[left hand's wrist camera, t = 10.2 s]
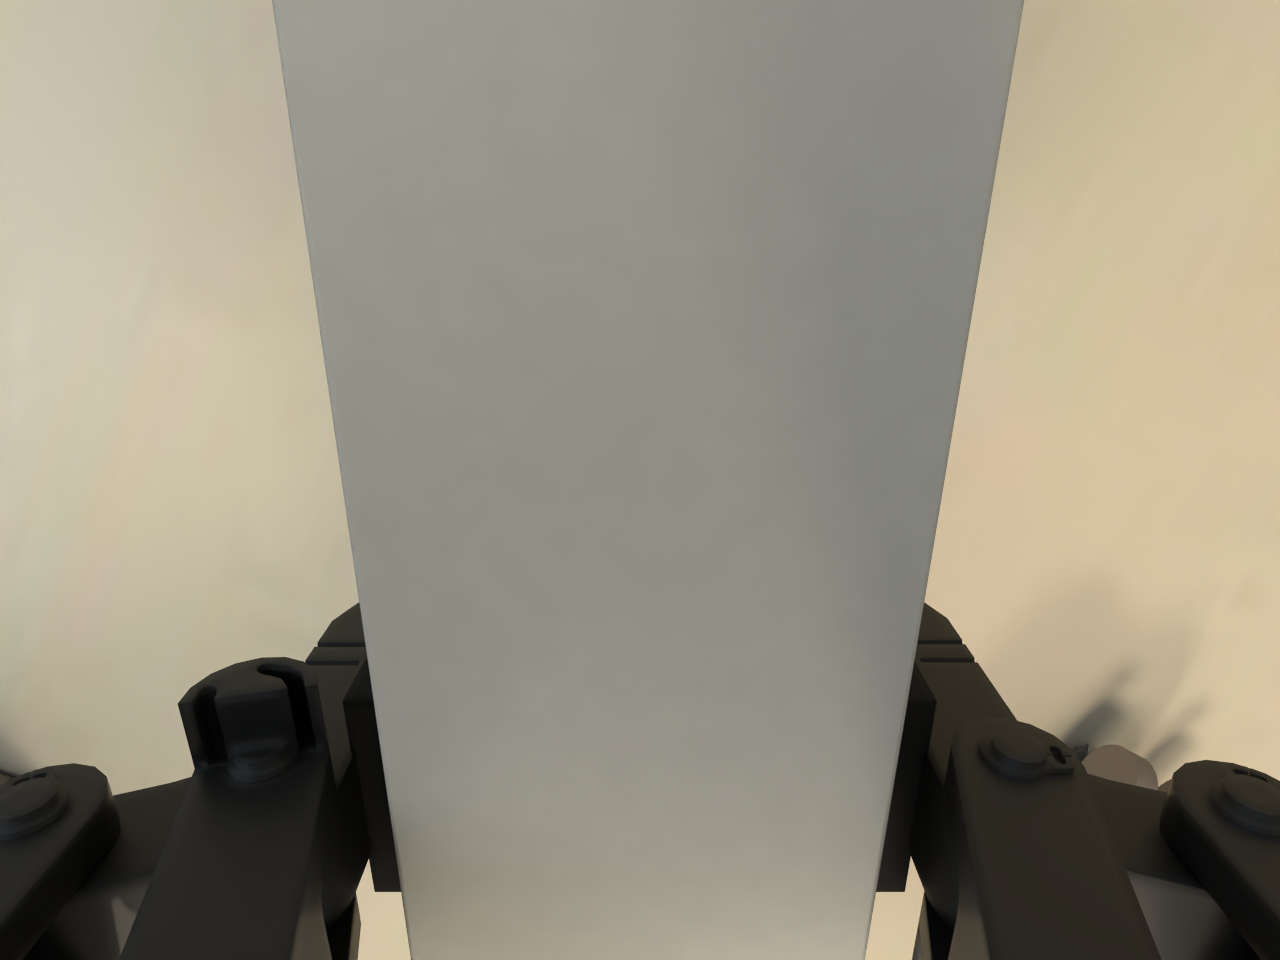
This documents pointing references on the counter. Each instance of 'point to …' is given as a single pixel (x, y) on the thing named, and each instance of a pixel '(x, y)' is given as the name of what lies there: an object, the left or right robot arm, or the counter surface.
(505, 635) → the post
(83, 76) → the counter surface
